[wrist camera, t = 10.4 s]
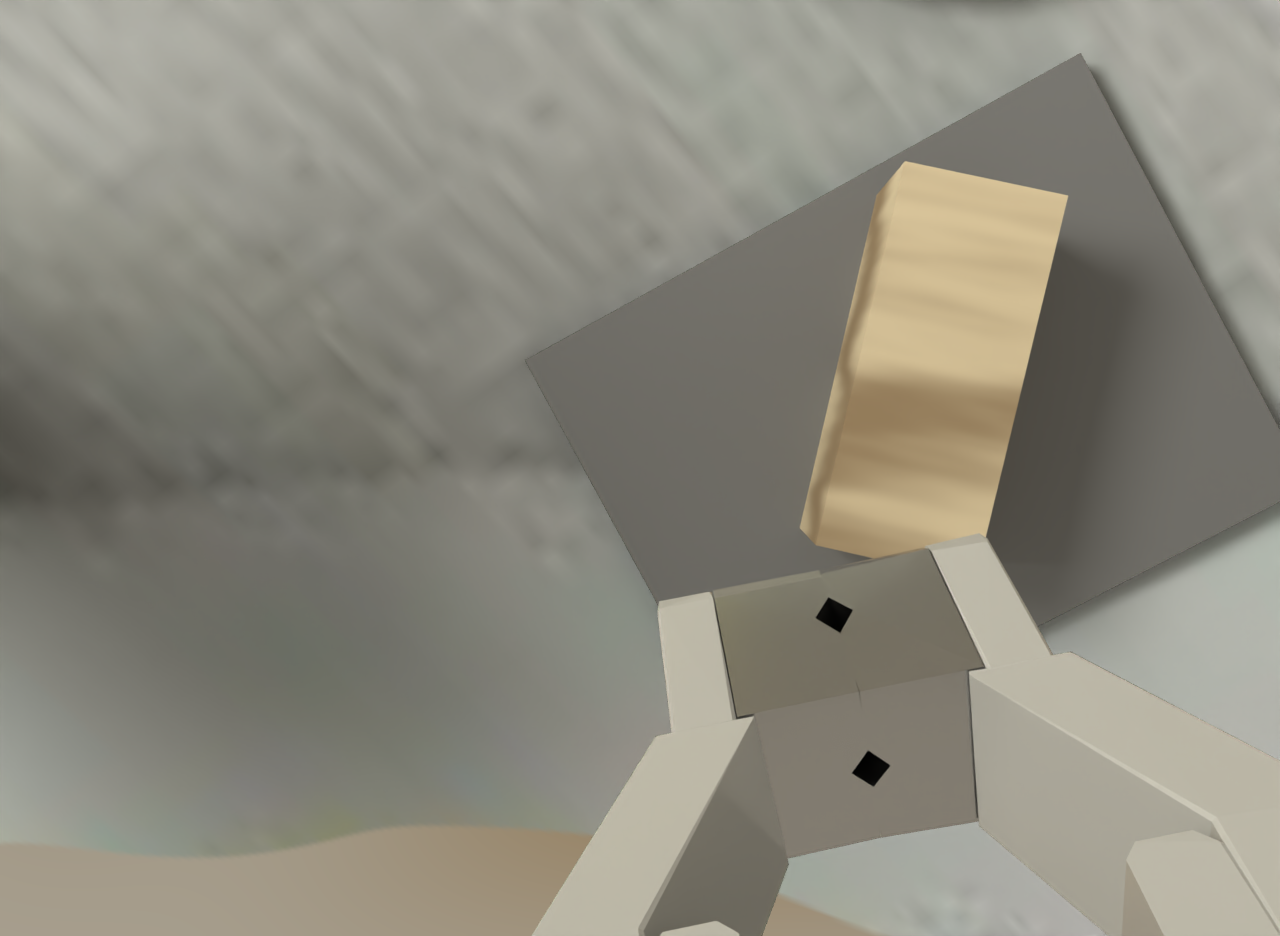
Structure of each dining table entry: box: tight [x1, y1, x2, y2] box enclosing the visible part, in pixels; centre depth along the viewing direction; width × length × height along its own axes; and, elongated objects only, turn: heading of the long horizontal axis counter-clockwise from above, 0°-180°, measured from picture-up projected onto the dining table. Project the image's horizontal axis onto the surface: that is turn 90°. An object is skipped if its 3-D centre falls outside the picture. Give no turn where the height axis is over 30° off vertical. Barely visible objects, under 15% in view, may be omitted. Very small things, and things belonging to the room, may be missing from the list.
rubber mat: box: [525, 53, 1280, 627], centre depth 38 cm, size 22×17×1 cm
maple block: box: [800, 161, 1068, 558], centre depth 35 cm, size 5×5×12 cm
